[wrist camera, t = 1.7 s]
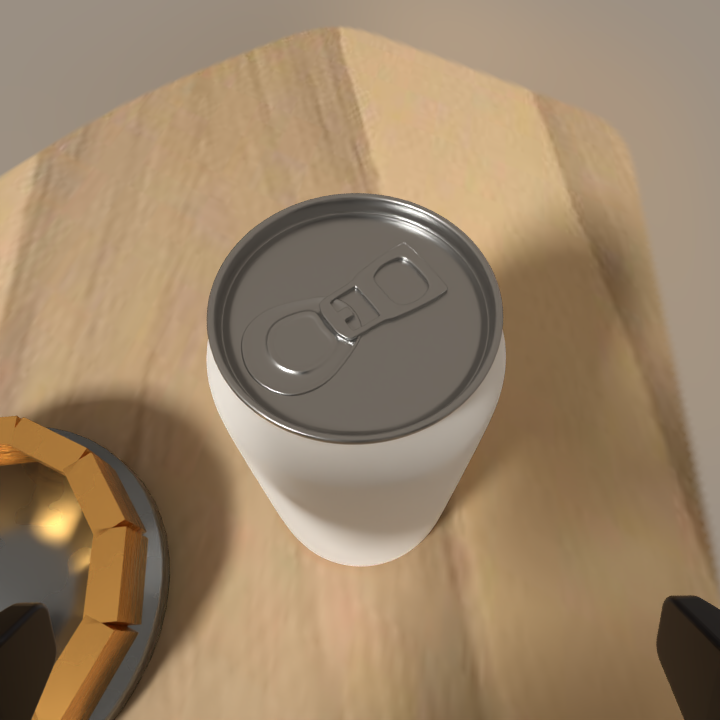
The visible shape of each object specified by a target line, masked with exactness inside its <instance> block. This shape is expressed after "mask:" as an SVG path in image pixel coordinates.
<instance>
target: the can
mask: <svg viewBox="0 0 720 720" xmlns="http://www.w3.org/2000/svg"><path fill="white" fill-rule="evenodd" d="M207 333H208V346H207V374H208V380H209V385H210V389H211V393H212V396H213V399H214V402H215V405H216V408H217V410H218V413H219V415H220V417H221V419H222V421H223V423H224V425H225V427H226V429H227V430H228V432H229V434H230V436H231V437H232V439H233V441H234V443H235V444H236V446H237V448H238V449H239V451H240V453H241V454H242V456H243V458H244V459H245V461H246V463H247V464H248V466H249V467H250V469H251V471H252V472H253V474H254V476H255V477H256V479H257V480H258V482H259V484H260V485H261V487H262V489H263V490H264V492H265V493H266V495H267V496H268V498H269V500H270V501H271V503H272V504H273V506H274V508H275V509H276V511H277V512H278V514H279V515H280V517H281V518H282V520H283V521H284V523H285V524H286V526H287V527H288V528H289V529H290V531H291V532H292V533H293V534H294V535H295V537H296V538H297V539H298V540H299V541H300V542H301V543H302V544H304V545H305V546H306V547H307V548H308V549H310V550H311V551H312V552H314V553H315V554H317V555H319V556H320V557H322V558H324V559H327V560H329V561H332V562H335V563H339V564H343V565H349V566H372V565H378V564H382V563H386V562H389V561H392V560H394V559H396V558H399V557H401V556H402V555H404V554H406V553H407V552H409V551H410V550H412V549H413V548H414V547H416V546H417V545H418V544H419V543H420V542H421V541H422V540H423V539H424V538H425V537H426V536H427V535H428V534H429V533H430V531H431V530H432V528H433V527H434V525H435V524H436V522H437V521H438V519H439V517H440V516H441V514H442V512H443V510H444V508H445V507H446V505H447V503H448V501H449V499H450V497H451V496H452V494H453V492H454V490H455V488H456V486H457V484H458V482H459V481H460V479H461V477H462V475H463V473H464V471H465V469H466V467H467V465H468V463H469V461H470V460H471V458H472V456H473V454H474V452H475V450H476V448H477V446H478V444H479V442H480V440H481V438H482V436H483V434H484V432H485V430H486V428H487V426H488V424H489V422H490V420H491V417H492V415H493V413H494V411H495V408H496V406H497V403H498V400H499V397H500V393H501V390H502V385H503V381H504V375H505V367H506V347H505V339H504V334H503V306H502V299H501V294H500V290H499V286H498V283H497V280H496V278H495V275H494V273H493V271H492V269H491V267H490V265H489V263H488V262H487V260H486V258H485V257H484V255H483V254H482V252H481V251H480V250H479V248H478V247H477V246H476V245H475V244H474V242H473V241H472V240H471V239H470V238H469V237H468V236H467V235H466V234H465V233H464V232H463V231H461V230H460V229H459V228H458V227H457V226H455V225H454V224H453V223H451V222H450V221H448V220H447V219H445V218H444V217H442V216H440V215H439V214H437V213H435V212H433V211H431V210H429V209H427V208H425V207H422V206H420V205H418V204H415V203H412V202H409V201H406V200H402V199H399V198H394V197H390V196H384V195H377V194H365V193H349V194H336V195H329V196H323V197H319V198H314V199H311V200H307V201H304V202H301V203H298V204H295V205H293V206H290V207H288V208H286V209H284V210H282V211H279V212H278V213H276V214H274V215H272V216H270V217H269V218H267V219H266V220H264V221H263V222H261V223H260V224H258V225H257V226H256V227H254V228H253V229H252V230H251V231H250V232H248V233H247V234H246V235H245V236H244V237H243V238H242V239H241V240H240V241H239V242H238V243H237V244H236V246H235V247H234V248H233V249H232V250H231V252H230V253H229V254H228V256H227V257H226V259H225V260H224V262H223V264H222V265H221V267H220V269H219V271H218V273H217V275H216V278H215V280H214V283H213V286H212V289H211V292H210V296H209V301H208V307H207Z"/></svg>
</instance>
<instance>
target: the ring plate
mask: <svg viewBox="0 0 720 720" xmlns="http://www.w3.org/2000/svg"><path fill="white" fill-rule="evenodd" d="M169 582H170V574H169V551H168V544H167V537H166V533H165V529H164V526H163V522H162V518H161V516H160V513H159V511H158V509H157V507H156V504H155V502H154V500H153V498H152V496H151V495H150V493H149V492H148V490H147V489H146V487H145V485H144V484H143V482H142V481H141V480H140V479H139V478H138V477H137V476H136V475H135V473H134V472H133V471H132V470H131V469H130V468H129V467H128V466H126V465H125V464H124V463H123V462H121V461H120V460H119V459H118V458H116V457H115V456H114V455H113V454H111V453H110V452H109V451H108V450H106V449H105V448H103V447H101V446H100V445H98V444H96V443H95V442H93V441H91V440H89V439H87V438H84V437H82V436H79V435H77V434H74V433H71V432H67V431H63V430H58V429H54V428H45V427H43V426H41V425H39V424H37V423H35V422H33V421H31V420H28V419H26V418H24V417H23V418H22V419H21V418H19V417H18V416H11V417H0V612H1V611H2V610H4V609H6V608H7V607H9V606H11V605H13V604H15V603H43V604H45V605H46V607H47V608H48V611H49V615H50V619H51V624H52V628H53V633H54V637H55V642H56V648H57V653H56V660H55V664H54V666H53V669H52V671H51V674H50V676H49V679H48V681H47V683H46V686H45V688H44V691H43V693H42V696H41V698H40V700H39V703H38V705H37V708H36V710H35V712H34V715H33V717H32V720H114V719H115V718H116V716H117V715H118V714H119V712H120V711H121V710H122V709H123V707H124V706H125V704H126V702H127V701H128V699H129V698H130V696H131V694H132V693H133V691H134V690H135V688H136V686H137V685H138V683H139V681H140V679H141V677H142V675H143V673H144V671H145V669H146V667H147V665H148V663H149V661H150V659H151V656H152V654H153V651H154V648H155V645H156V642H157V640H158V637H159V634H160V631H161V627H162V623H163V619H164V615H165V611H166V607H167V598H168V590H169Z"/></svg>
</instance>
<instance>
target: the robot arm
mask: <svg viewBox="0 0 720 720" xmlns="http://www.w3.org/2000/svg"><path fill="white" fill-rule="evenodd" d="M656 645H657V653H658V657H659V660H660V662H661V665H662V667H663V669H664V672H665V674H666V677H667V679H668V681H669V684H670V686H671V689H672V691H673V694H674V696H675V698H676V701H677V703H678V706H679V708H680V710H681V713H682V715H683V718H684V720H720V609H718V608H716V607H715V606H713V605H711V604H710V603H708V602H706V601H705V600H703V599H701V598H699V597H697V596H691V595H690V596H669V597H667V598H666V599H665V601H664V603H663V607H662V612H661V618H660V623H659V629H658V634H657V641H656ZM56 653H57V648H56V642H55V637H54V633H53V628H52V624H51V619H50V615H49V611H48V608H47V607H46V605H45V604H43V603H15V604H13V605H11V606H9V607H7V608H6V609H4V610H2V611H1V612H0V720H32V717H33V715H34V712H35V710H36V708H37V705H38V703H39V700H40V698H41V696H42V693H43V691H44V688H45V686H46V683H47V681H48V679H49V676H50V674H51V671H52V669H53V666H54V664H55V660H56Z"/></svg>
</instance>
